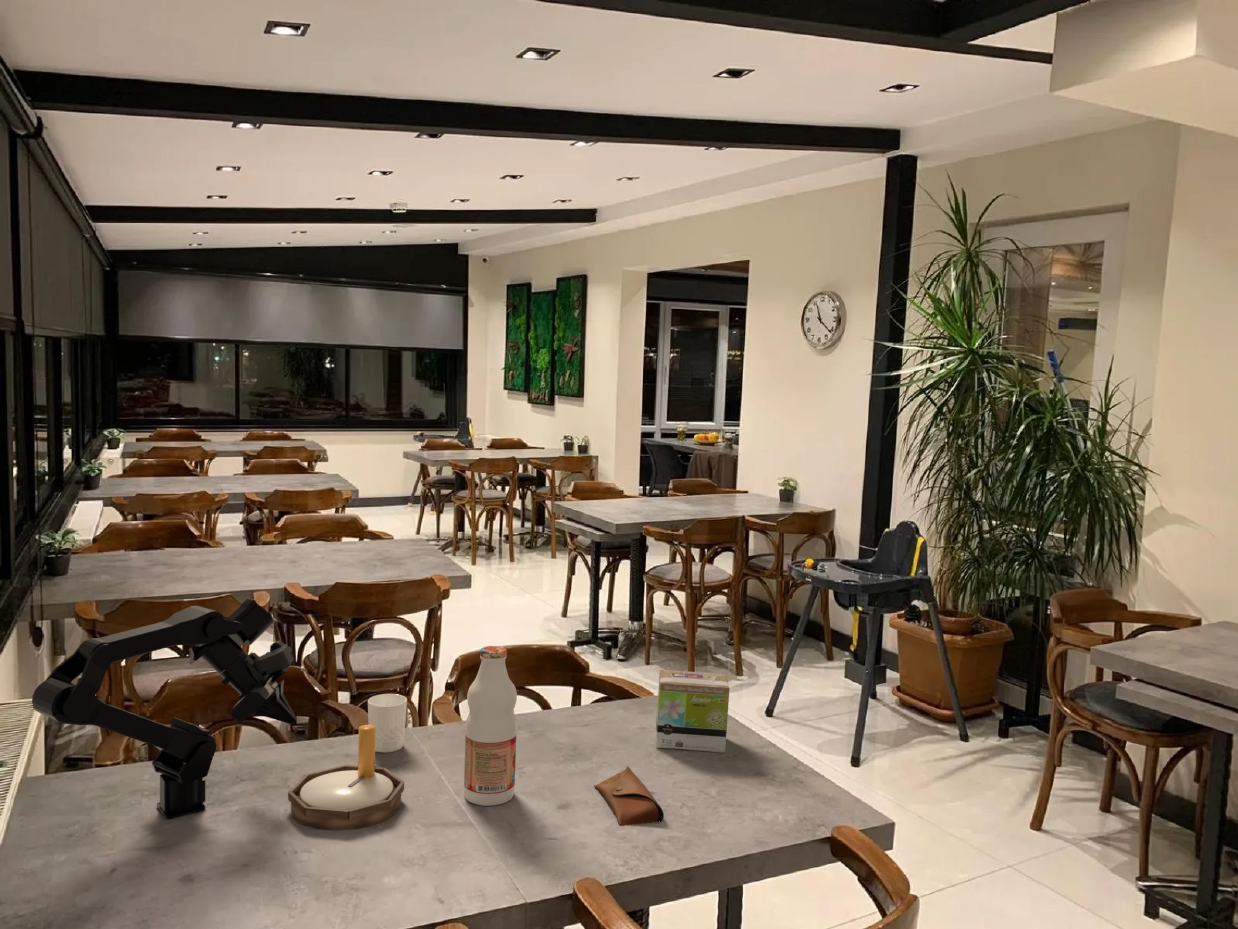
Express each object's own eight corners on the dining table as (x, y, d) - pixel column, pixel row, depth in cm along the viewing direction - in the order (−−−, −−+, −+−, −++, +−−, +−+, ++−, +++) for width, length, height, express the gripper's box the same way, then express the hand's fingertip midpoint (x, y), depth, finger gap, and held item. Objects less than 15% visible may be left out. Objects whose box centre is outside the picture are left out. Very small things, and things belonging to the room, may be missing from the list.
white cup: (400, 755, 195) (401, 707, 194) (362, 753, 196) (363, 705, 195) (409, 740, 203) (410, 694, 202) (373, 738, 203) (373, 692, 202)
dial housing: (316, 841, 158) (316, 819, 158) (274, 799, 173) (275, 779, 173) (419, 811, 171) (420, 791, 170) (372, 774, 185) (373, 756, 185)
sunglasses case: (589, 784, 185) (607, 754, 185) (618, 799, 187) (636, 769, 188) (619, 827, 168) (639, 793, 168) (650, 842, 170) (670, 809, 171)
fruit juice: (453, 794, 178) (457, 647, 176) (493, 781, 185) (497, 639, 182) (484, 812, 171) (488, 659, 169) (524, 797, 178) (529, 650, 176)
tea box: (655, 750, 204) (658, 682, 202) (655, 732, 214) (658, 668, 212) (726, 754, 203) (729, 686, 202) (722, 736, 213) (726, 671, 212)
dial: (284, 808, 165) (284, 753, 164) (323, 771, 180) (323, 720, 180) (373, 817, 163) (374, 761, 162) (405, 778, 179) (406, 727, 178)
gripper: (251, 647, 163) (316, 710, 165) (278, 619, 182) (336, 675, 184) (203, 691, 163) (269, 754, 165) (234, 659, 182) (294, 715, 184)
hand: (294, 722), depth 175 cm, fingers closed
